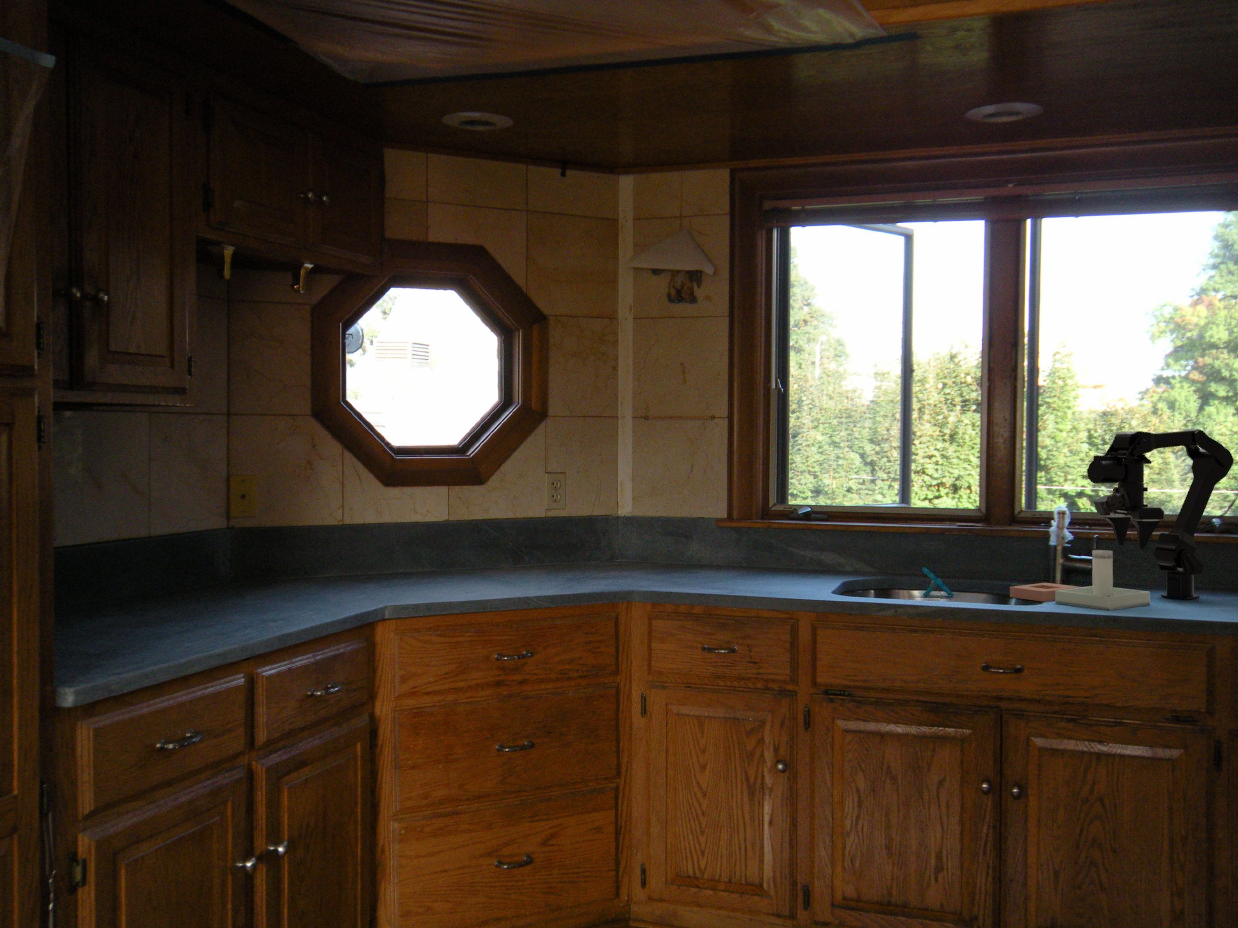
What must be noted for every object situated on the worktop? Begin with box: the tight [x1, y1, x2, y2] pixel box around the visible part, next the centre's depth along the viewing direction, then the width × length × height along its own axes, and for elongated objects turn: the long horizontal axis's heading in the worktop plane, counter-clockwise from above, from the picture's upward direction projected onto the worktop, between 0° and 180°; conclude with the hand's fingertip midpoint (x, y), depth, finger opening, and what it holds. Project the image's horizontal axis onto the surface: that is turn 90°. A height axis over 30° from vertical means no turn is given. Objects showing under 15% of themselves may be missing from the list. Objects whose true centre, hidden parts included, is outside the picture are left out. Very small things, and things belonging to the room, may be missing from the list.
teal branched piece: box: [921, 566, 955, 598], centre depth 262 cm, size 11×6×10 cm
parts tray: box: [1054, 585, 1151, 611], centre depth 247 cm, size 16×14×3 cm
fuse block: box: [1009, 582, 1081, 603], centre depth 260 cm, size 14×10×2 cm
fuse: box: [1091, 549, 1114, 597], centre depth 247 cm, size 4×4×12 cm
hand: (1130, 547), depth 252 cm, fingers open, 9 cm apart
